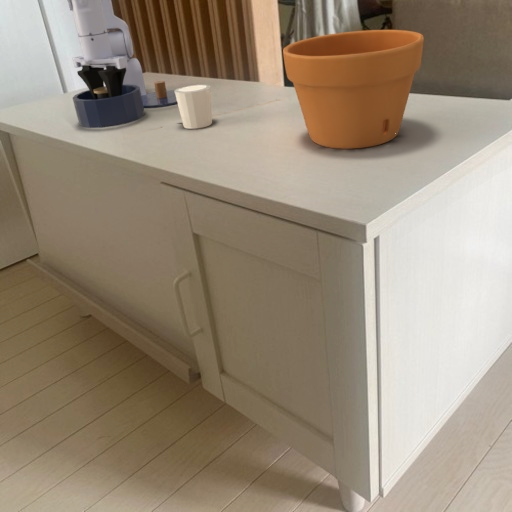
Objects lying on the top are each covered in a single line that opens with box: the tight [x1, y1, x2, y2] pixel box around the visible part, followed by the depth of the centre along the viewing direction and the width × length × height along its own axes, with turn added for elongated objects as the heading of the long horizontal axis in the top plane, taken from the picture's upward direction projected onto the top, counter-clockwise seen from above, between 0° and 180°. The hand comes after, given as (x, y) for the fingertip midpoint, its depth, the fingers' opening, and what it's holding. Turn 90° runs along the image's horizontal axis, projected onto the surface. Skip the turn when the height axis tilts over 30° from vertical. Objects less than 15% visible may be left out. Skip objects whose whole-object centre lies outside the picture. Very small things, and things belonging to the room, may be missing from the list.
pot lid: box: [142, 80, 178, 109], centre depth 125 cm, size 15×15×5 cm
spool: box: [93, 86, 110, 99], centre depth 113 cm, size 5×5×4 cm
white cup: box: [174, 84, 213, 130], centre depth 104 cm, size 7×7×7 cm
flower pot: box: [282, 29, 425, 150], centre depth 86 cm, size 21×21×15 cm
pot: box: [72, 85, 145, 129], centre depth 113 cm, size 14×14×6 cm
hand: (109, 103), depth 113 cm, fingers closed on spool, 4 cm apart
